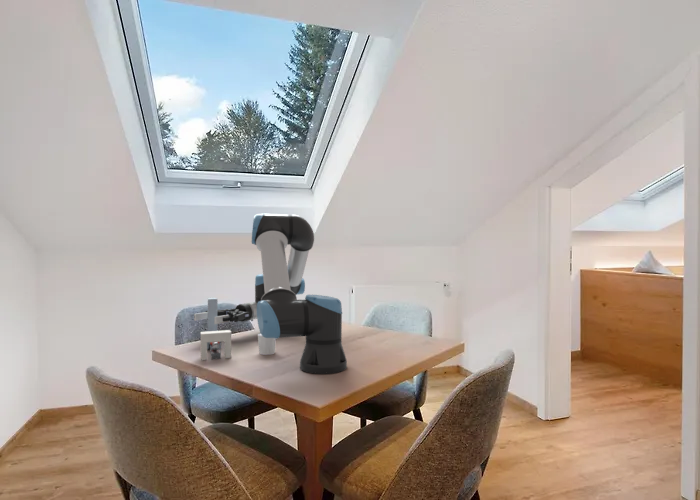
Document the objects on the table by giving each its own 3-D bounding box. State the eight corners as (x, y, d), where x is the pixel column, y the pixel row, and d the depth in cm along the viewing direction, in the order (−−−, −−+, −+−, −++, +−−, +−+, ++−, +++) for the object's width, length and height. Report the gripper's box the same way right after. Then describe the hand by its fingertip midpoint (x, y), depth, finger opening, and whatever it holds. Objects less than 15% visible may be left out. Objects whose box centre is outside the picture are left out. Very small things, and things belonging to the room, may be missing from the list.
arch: (231, 357, 152) (231, 332, 152) (200, 360, 149) (201, 334, 148) (230, 355, 156) (230, 330, 156) (200, 357, 152) (200, 331, 152)
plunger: (221, 351, 151) (221, 342, 151) (211, 352, 150) (211, 343, 150) (219, 346, 159) (219, 337, 159) (210, 346, 158) (210, 338, 158)
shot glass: (253, 352, 159) (253, 333, 159) (269, 349, 164) (269, 331, 164) (264, 356, 155) (264, 336, 154) (280, 352, 159) (280, 333, 159)
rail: (220, 358, 151) (220, 352, 151) (211, 359, 150) (211, 353, 150) (216, 343, 173) (216, 338, 173) (208, 344, 172) (208, 339, 172)
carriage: (220, 348, 165) (221, 301, 165) (206, 349, 163) (206, 301, 163) (219, 342, 176) (219, 297, 175) (205, 343, 174) (205, 298, 173)
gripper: (266, 323, 181) (225, 332, 163) (228, 317, 194) (185, 325, 176) (267, 305, 181) (225, 312, 163) (228, 301, 194) (185, 306, 176)
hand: (204, 318), depth 170 cm, fingers open, 12 cm apart
